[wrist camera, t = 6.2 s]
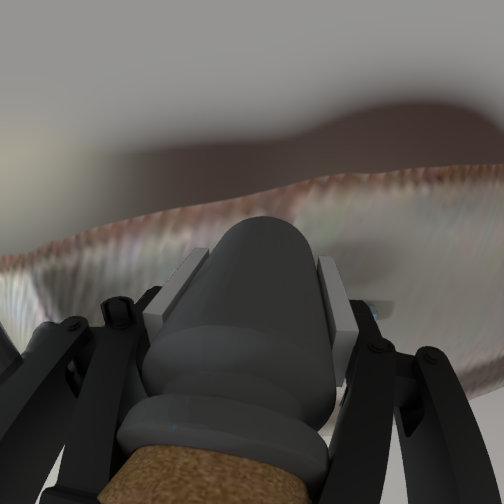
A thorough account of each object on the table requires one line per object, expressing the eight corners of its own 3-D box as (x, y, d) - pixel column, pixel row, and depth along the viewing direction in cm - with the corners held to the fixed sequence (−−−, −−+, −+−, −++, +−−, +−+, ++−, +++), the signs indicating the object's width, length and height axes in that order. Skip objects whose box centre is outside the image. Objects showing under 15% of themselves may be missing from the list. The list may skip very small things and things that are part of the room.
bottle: (329, 280, 17) (377, 548, 3) (247, 318, 19) (189, 552, 5) (283, 196, 16) (250, 515, 2) (197, 244, 17) (29, 467, 3)
